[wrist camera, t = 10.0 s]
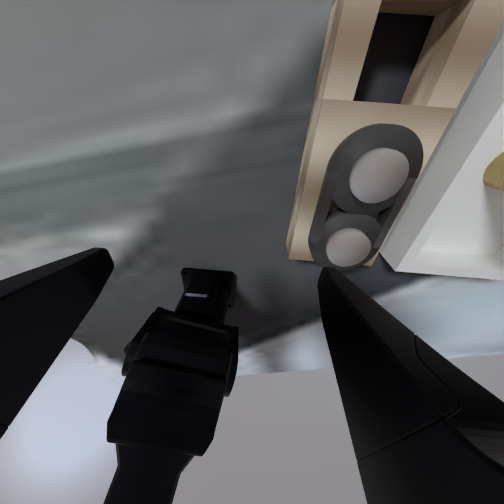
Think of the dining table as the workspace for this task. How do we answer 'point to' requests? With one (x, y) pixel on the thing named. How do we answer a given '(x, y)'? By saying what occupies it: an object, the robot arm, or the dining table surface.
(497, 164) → the lock pin
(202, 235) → the dining table surface
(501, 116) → the tray
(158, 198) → the dining table surface
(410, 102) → the plate
